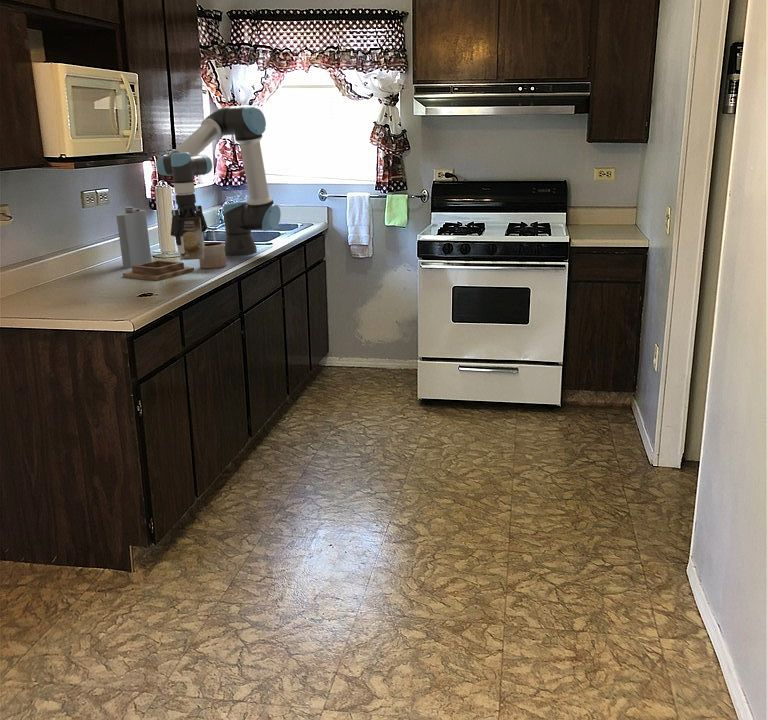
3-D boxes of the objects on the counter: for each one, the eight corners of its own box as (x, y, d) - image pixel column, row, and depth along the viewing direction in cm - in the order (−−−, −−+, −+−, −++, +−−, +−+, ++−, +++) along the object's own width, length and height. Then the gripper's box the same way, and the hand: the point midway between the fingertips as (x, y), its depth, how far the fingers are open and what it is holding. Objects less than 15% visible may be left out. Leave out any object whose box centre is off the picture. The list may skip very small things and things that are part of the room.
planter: (220, 269, 332) (218, 246, 330) (195, 269, 335) (193, 246, 332) (230, 264, 343) (228, 241, 340) (206, 264, 345) (204, 242, 342)
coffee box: (180, 260, 314) (175, 219, 309) (181, 257, 320) (176, 217, 315) (204, 259, 315) (199, 217, 310) (204, 256, 321) (200, 215, 316)
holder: (160, 267, 340) (159, 258, 339) (194, 271, 330) (193, 261, 329) (122, 276, 324) (121, 267, 323) (157, 280, 314) (155, 270, 313)
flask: (144, 260, 359) (137, 204, 352) (153, 260, 358) (146, 204, 350) (120, 268, 344) (112, 209, 336) (129, 268, 342) (121, 209, 335)
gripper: (199, 190, 320) (205, 245, 327) (155, 197, 302) (163, 255, 309) (212, 190, 317) (219, 246, 323) (169, 197, 299) (177, 256, 305)
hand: (191, 250), depth 316 cm, fingers closed on coffee box, 10 cm apart
